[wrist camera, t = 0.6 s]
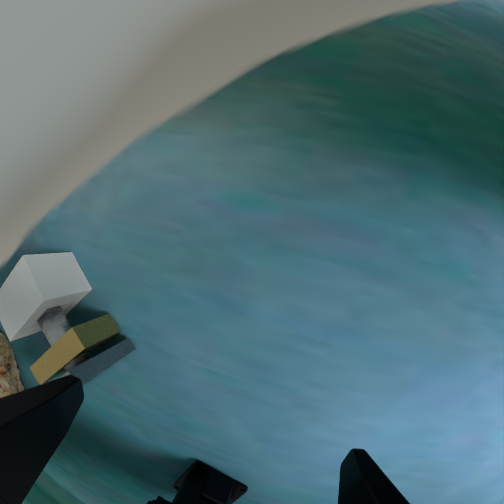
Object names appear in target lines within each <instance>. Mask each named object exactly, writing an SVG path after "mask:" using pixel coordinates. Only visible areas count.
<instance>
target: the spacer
mask: <svg viewBox="0 0 504 504" xmlns="http://www.w3.org/2000/svg"><path fill="white" fill-rule="evenodd" d="M119 332H120V329H119V328H118V326H117V325H116V323H115V322H114V320H113V318H112V317H111V315H110V314H106V315H103V316H101V317H98V318H95V319H93V320H90V321H87V322H85V323H82V324H79V325H77V326H74V327H72V328H71V329H70V330H68V331H67V332H66V333H65V334H64V335H63V336H62V337H61V338H60V339H59V340H58V341H57V342H56V343H55V344H54V345H53V346H52V347H51V348H49V349H48V350H47V351H46V352H45V353H44V354H43V355H42V356H41V357H40V358H39V359H38V360H37V361H36V362H35V363H34V364H33V365H32V366H31V367H30V369H31V371H32V373H33V374H34V376H35V378H36V379H37V381H38V382H39V384H40V385H41V384H44V383H46V382H48V381H49V380H51V379H53V378H55V377H57V376H59V375H61V374H63V373H64V372H66V371H65V369H64V367H65V366H67V365H68V364H69V363H70V362H72V361H73V360H74V359H75V358H76V357H78V356H79V355H81V354H83V353H85V352H87V351H89V350H91V349H93V348H95V347H97V346H99V345H101V344H103V343H105V342H107V341H108V340H110V339H111V338H112V337H113V336H115V335H116V334H117V333H119Z"/></svg>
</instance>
